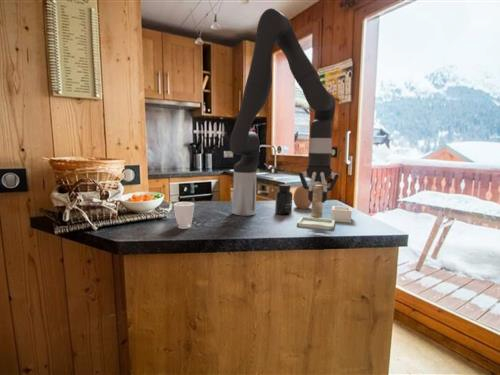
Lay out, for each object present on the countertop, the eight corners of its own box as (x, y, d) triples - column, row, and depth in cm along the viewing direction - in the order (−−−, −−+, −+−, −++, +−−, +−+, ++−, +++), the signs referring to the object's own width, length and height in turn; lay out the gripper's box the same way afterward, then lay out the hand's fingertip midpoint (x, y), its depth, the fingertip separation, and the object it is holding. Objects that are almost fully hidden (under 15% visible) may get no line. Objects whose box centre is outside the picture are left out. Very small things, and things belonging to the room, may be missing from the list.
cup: (172, 230, 96) (172, 206, 95) (175, 222, 106) (175, 200, 105) (194, 229, 97) (194, 205, 96) (195, 221, 107) (195, 199, 106)
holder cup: (330, 222, 109) (331, 209, 108) (331, 218, 115) (332, 205, 115) (350, 224, 107) (351, 211, 106) (350, 220, 113) (351, 207, 112)
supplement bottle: (291, 216, 118) (292, 186, 116) (274, 215, 119) (275, 185, 118) (292, 212, 125) (293, 184, 123) (276, 211, 126) (276, 183, 124)
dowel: (310, 217, 101) (312, 186, 100) (312, 215, 105) (313, 184, 103) (321, 218, 100) (323, 186, 99) (322, 216, 104) (324, 185, 102)
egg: (300, 206, 136) (301, 182, 134) (315, 209, 130) (316, 184, 128) (289, 209, 130) (290, 184, 128) (305, 212, 124) (306, 186, 123)
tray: (296, 228, 100) (296, 222, 100) (301, 221, 110) (301, 216, 109) (333, 232, 97) (333, 226, 96) (334, 224, 106) (334, 219, 106)
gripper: (297, 151, 98) (295, 202, 101) (341, 152, 94) (338, 205, 96) (300, 151, 105) (298, 198, 108) (342, 152, 101) (339, 201, 103)
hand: (317, 201), depth 102 cm, fingers closed on dowel, 3 cm apart
